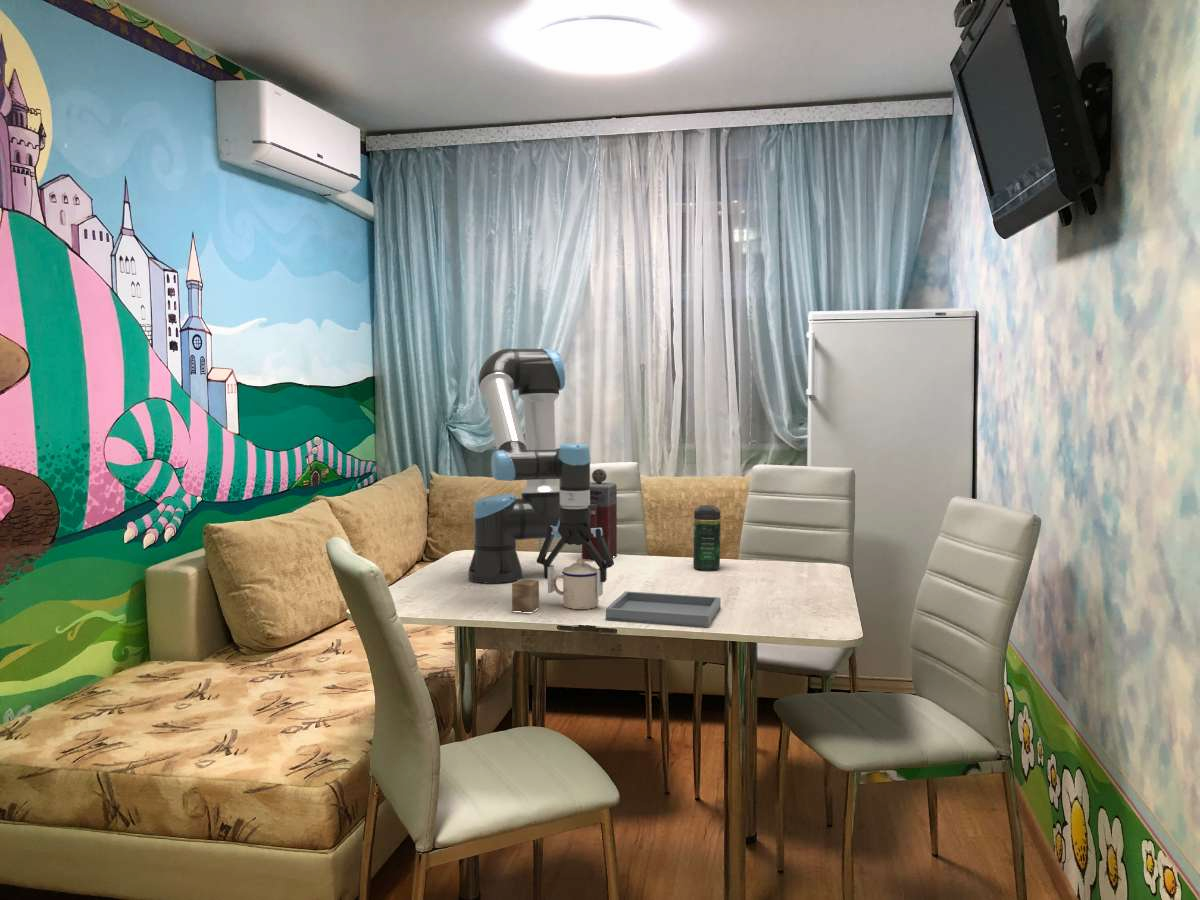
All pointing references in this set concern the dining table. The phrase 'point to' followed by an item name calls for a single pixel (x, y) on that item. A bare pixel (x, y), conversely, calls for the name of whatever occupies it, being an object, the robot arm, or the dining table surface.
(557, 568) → the dining table surface
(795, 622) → the dining table surface
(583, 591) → the teacup with lid
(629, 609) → the tray
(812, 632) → the dining table surface
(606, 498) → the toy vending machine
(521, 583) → the walnut block
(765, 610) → the dining table surface
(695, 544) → the coffee jar
